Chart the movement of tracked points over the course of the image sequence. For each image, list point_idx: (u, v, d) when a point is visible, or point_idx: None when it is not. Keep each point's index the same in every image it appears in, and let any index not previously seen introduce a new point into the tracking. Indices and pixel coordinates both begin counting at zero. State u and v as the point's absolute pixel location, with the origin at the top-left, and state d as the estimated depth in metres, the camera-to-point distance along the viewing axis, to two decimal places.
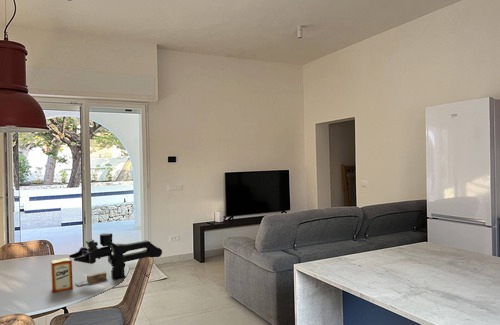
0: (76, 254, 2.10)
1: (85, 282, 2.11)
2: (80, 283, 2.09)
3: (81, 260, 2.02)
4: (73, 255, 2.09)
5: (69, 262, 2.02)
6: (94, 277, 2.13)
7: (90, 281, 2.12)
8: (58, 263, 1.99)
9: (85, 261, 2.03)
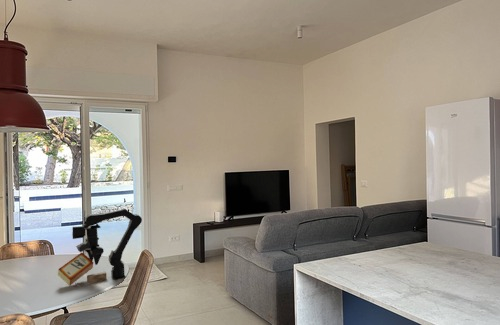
0: (90, 255, 2.18)
1: (85, 282, 2.11)
2: (80, 283, 2.09)
3: (98, 258, 2.10)
4: (90, 257, 2.18)
5: (91, 262, 2.15)
6: (94, 277, 2.13)
7: (90, 281, 2.12)
8: (84, 256, 2.16)
9: (99, 255, 2.10)
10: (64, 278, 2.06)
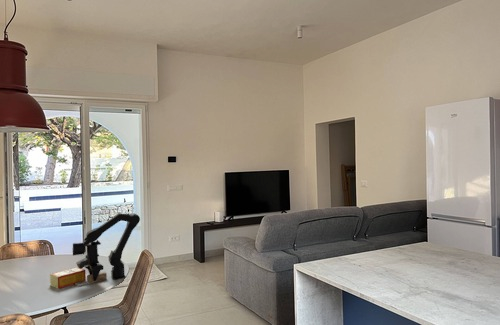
0: (91, 272, 2.16)
1: (85, 282, 2.11)
2: (80, 283, 2.09)
3: (96, 274, 2.12)
4: None
5: (83, 269, 2.16)
6: None
7: (90, 281, 2.12)
8: None
9: (98, 271, 2.12)
10: (54, 281, 2.06)
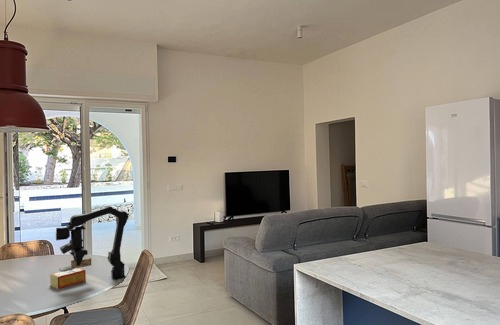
0: (75, 258, 2.10)
1: (69, 267, 2.05)
2: (64, 268, 2.04)
3: (80, 260, 2.07)
4: None
5: (83, 269, 2.16)
6: None
7: (74, 266, 2.06)
8: (79, 268, 2.19)
9: (82, 256, 2.07)
10: (54, 281, 2.06)
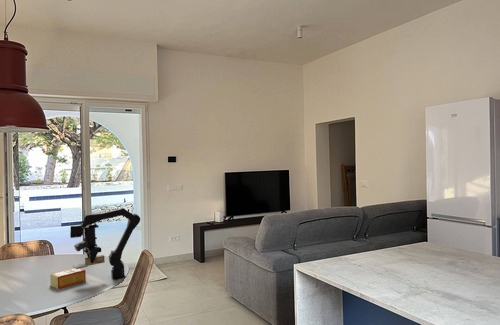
0: (89, 255, 2.15)
1: (83, 264, 2.11)
2: (78, 265, 2.09)
3: (94, 257, 2.12)
4: None
5: (83, 269, 2.16)
6: None
7: (88, 263, 2.12)
8: (79, 268, 2.19)
9: (95, 253, 2.12)
10: (54, 281, 2.06)
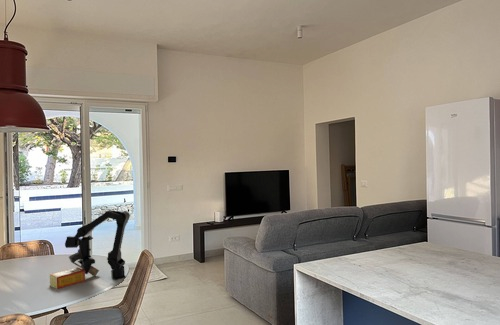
0: None
1: (79, 265, 2.19)
2: None
3: (88, 268, 2.19)
4: None
5: (82, 270, 2.15)
6: None
7: (83, 267, 2.19)
8: (78, 268, 2.19)
9: (89, 264, 2.19)
10: (53, 281, 2.06)
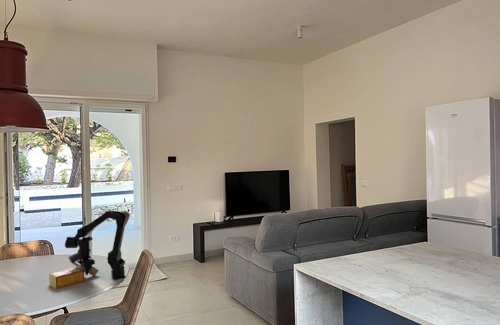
0: None
1: (79, 265, 2.19)
2: (75, 263, 2.18)
3: (88, 269, 2.18)
4: None
5: (81, 270, 2.15)
6: None
7: (83, 267, 2.19)
8: (78, 268, 2.19)
9: (90, 265, 2.18)
10: (53, 280, 2.06)
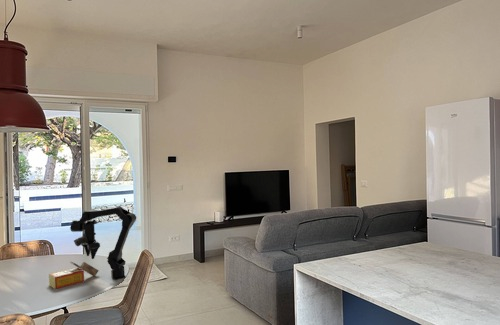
0: (87, 249, 2.25)
1: None
2: None
3: (94, 253, 2.18)
4: (87, 252, 2.25)
5: (81, 270, 2.15)
6: (88, 267, 2.21)
7: (83, 267, 2.19)
8: (78, 268, 2.19)
9: (96, 249, 2.18)
10: (52, 281, 2.06)
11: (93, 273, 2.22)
